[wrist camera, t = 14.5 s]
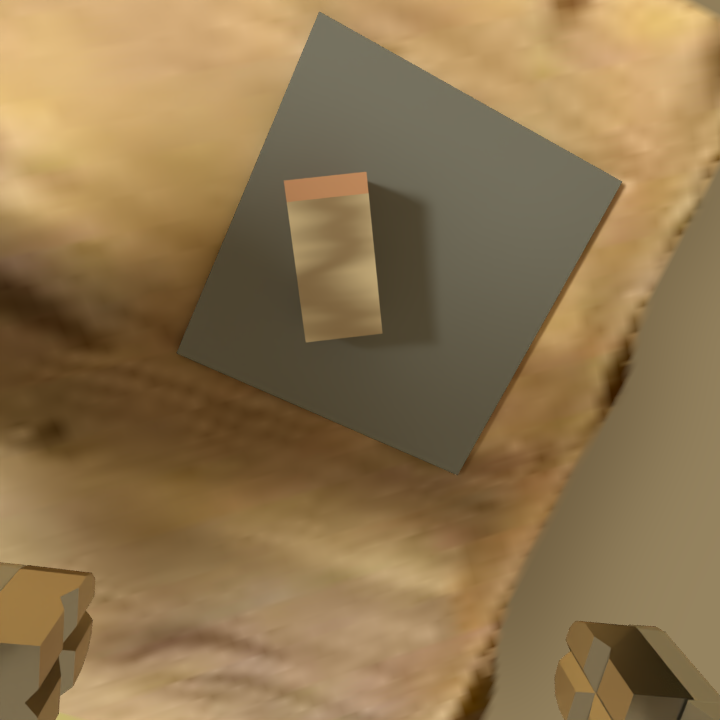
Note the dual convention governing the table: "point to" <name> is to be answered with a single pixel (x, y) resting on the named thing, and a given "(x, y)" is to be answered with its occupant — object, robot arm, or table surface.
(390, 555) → the table surface
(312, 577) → the table surface
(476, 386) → the rubber mat
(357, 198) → the maple block
